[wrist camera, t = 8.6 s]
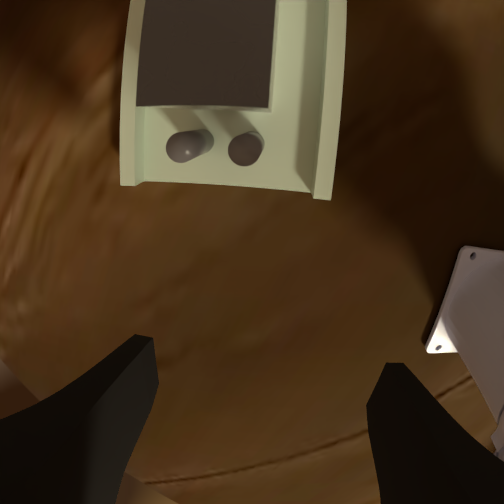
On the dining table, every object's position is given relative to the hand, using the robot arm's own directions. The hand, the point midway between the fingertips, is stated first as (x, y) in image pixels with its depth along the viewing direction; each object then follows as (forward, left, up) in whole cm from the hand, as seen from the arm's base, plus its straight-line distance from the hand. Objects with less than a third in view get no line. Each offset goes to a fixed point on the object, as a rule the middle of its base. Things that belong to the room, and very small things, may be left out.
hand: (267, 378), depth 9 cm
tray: (+3, -12, -9) cm, 15 cm away
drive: (+3, -12, -8) cm, 15 cm away
